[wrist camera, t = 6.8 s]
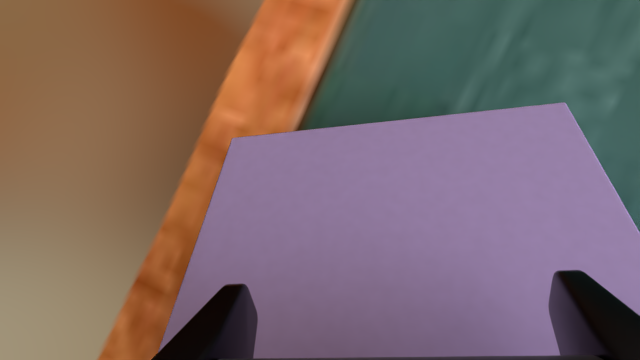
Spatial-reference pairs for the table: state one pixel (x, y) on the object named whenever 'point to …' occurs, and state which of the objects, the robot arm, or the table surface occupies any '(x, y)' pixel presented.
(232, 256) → the purple square slab
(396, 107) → the table surface
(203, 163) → the table surface
